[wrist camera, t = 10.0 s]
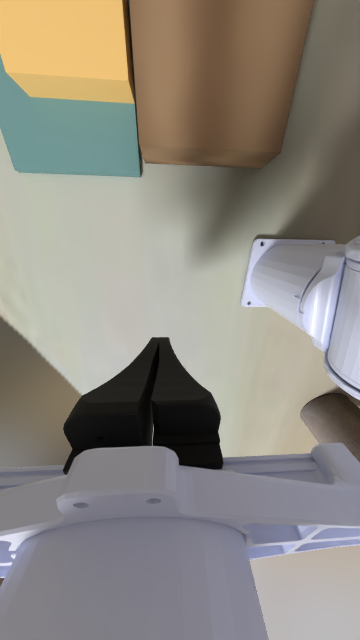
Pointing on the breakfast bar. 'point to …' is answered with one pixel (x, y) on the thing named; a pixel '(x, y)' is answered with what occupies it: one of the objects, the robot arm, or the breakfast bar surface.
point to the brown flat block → (215, 78)
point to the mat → (68, 133)
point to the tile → (68, 48)
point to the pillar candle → (334, 421)
